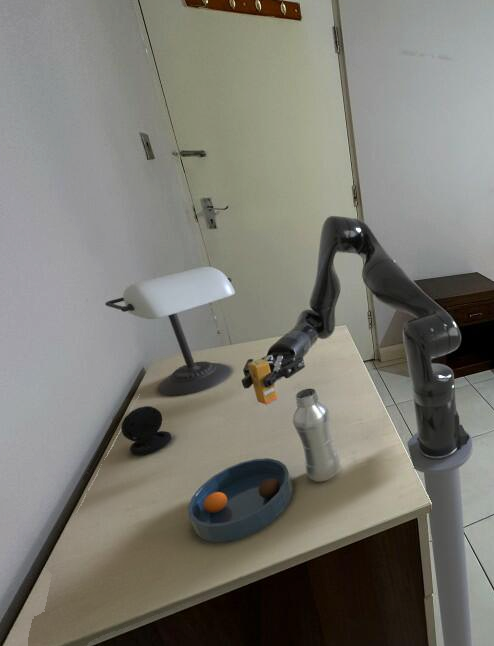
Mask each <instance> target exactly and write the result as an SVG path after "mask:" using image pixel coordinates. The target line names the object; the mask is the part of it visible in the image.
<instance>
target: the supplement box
mask: <svg viewBox="0 0 494 646" xmlns="http://www.w3.org/2000/svg"><path fill="white" fill-rule="evenodd" d="M248 367H249V370H250V374H251V378H252V382H253V384H252V385H253V389H254V392H255V393H254V394H255V396H256V401H257V403H261V404H264V405H265V406H267V405H269V404H271V403H272V402H275V401H276V400H278V399H279V397H278V394H277V390H276V386H275V383H274V384H273V385H272V386H270V387H269V388H265V386H264V383H263V380H264V378H265V377H266V376H267V375H268V374H269V373H270V372H271V371H270V367H269V363H268V361H265V360H262V359H261V358H259V359H256V360H253V362H251V363H249V364H248Z"/></svg>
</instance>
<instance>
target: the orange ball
mask: <svg viewBox="0 0 494 646" xmlns="http://www.w3.org/2000/svg"><path fill="white" fill-rule="evenodd" d="M226 504H227V497H226V495H225V494H224V493H221V492H215V493H212V494H210V495H209V496H208V497H207V498H206V499H205V501H204V509H205V510H206V511H207V512H209V513H217V512H219V511H221V510H222V509H223V508H224V507H225V506H226Z"/></svg>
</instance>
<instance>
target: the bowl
mask: <svg viewBox="0 0 494 646" xmlns="http://www.w3.org/2000/svg"><path fill="white" fill-rule="evenodd" d="M270 478H272V479H276V480H277V481H278V482H279V484H280V489H279V492H278V493H277V494H276V495H275V496H274V497H272V498H268V499H266V498H263V497H261V496H260V494H259V486H260V484H261V483H262V482H263V481H265V480H266V479H270ZM215 492H221V493H224V494H225V495H226V497H227V504H226V506H225V507H224V508H223V509H222V510H221V511H219V512H217V513H209V512H207V511H206V510H205V509H204V501H205V499H206V498H207V497H208V496H209V495H210V494H212V493H215ZM292 495H293V483H292V479H291V475H290V472H289V470H288V467H287V466H286V464H284V463H283V462H281V461H280V460H277V459H273V458H270V457H269V458H267V457H266V458H265V457H264V458H253V459H249V460H245V461H241V462H238V463H236V464H235V465H231V466H229V467H226V468H225V469H223V470H222V471H219V472H218V473H217V474H214V475H213V476H211V477H210V478H209V479H208V480H207V481H205V482H204V483H203V484H202V485H201V486H200V487H199V488H198V489H197V490H196V492H195V493H194V494H193V495H192V497H191V499H190V502H189V504H188V506H187V512H188V518H189V521H190V523H191V525H192V527H193V529H194V532H195V533H196V534H197V535H198V536H199V538H200V539H202V540H204V541H207V542H210V543H218V544H219V543H228V542H234V541H238V540H240V539H244V538H246V537H249V536H251V535H253V534H256V533H257V532H259V531H261V530H262V529H264V528H266V527H267V526H268V525H270V524H271V523H272V522H273V521H274V520H276V519H277V518H278V517H279V516H280V515H281V514H282V512H284V510H285V509H286V508H287V507H288V505H289V503H290V501H291V498H292Z"/></svg>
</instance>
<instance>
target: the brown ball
mask: <svg viewBox="0 0 494 646" xmlns="http://www.w3.org/2000/svg"><path fill="white" fill-rule="evenodd" d="M279 489H280V484H279V482H278V481H277V480H276V479H272V478H270V479H266V480H265V481H263V482H262V483H261V484H260V486H259V494H260V496H261V497H263V498H266V499H268V498H272V497H274V496H275V495H276V494H277V493H278V492H279Z"/></svg>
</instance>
